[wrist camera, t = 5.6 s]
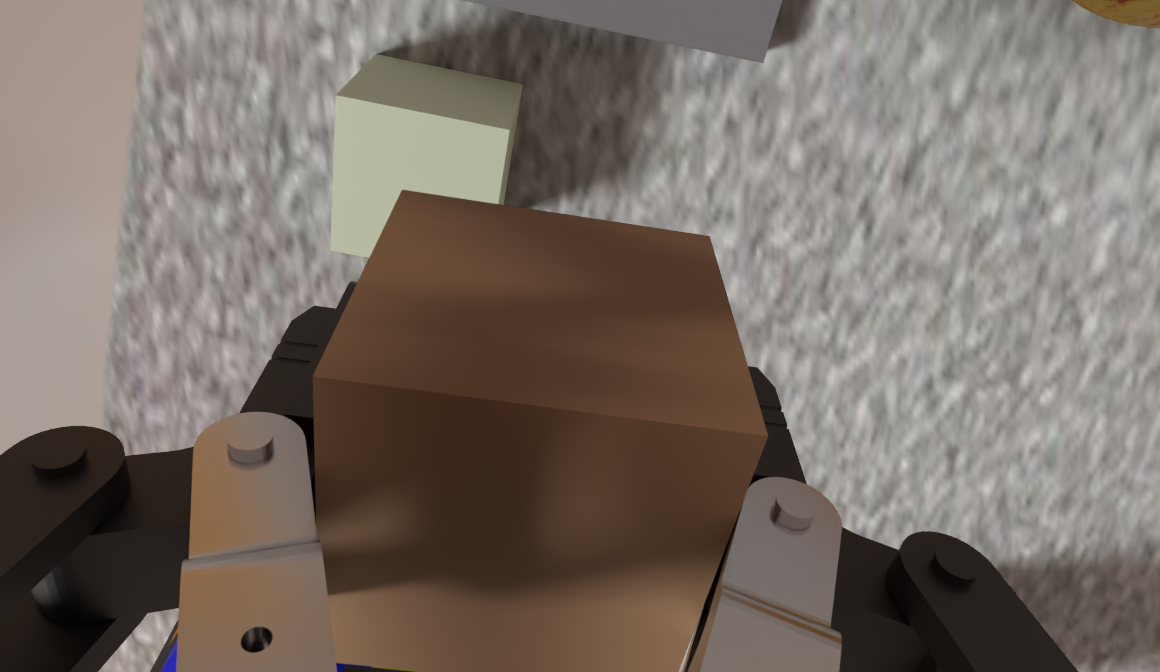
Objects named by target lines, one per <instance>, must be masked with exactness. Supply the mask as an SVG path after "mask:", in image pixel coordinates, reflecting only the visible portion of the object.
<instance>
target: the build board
mask: <svg viewBox="0 0 1160 672" xmlns="http://www.w3.org/2000/svg"><path fill="white" fill-rule="evenodd" d="M463 1H468V2H473V3H478V4H483V5H487V6H492V7H497V8H502V9H507V10H511V11H516V12H521V13H526V14H530V15H535V16H540V17H545V18H550V19H554V20H559V21H564V22H569V23H574V24H578V25H583V26H588V27H593V28H598V29H602V30H607V31H612V32H617V33H622V34H626V35H631V36H636V37H641V38H645V39H650V40H655V41H660V42H665V43H669V44H674V45H679V46H684V47H689V48H693V49H698V50H703V51H708V52H713V53H717V54H722V55H727V56H732V57H736V58H741V59H746V60H751V61H756V62H760V63H763V62H764V59H765V55H766V52H767V49H768V46H769V42H770V39H771V36H772V33H773V29H774V26H775V23H776V20H777V17H778V13H779V10H780V7H781V4H782V0H463Z"/></svg>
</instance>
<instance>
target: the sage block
mask: <svg viewBox="0 0 1160 672" xmlns="http://www.w3.org/2000/svg"><path fill="white" fill-rule="evenodd" d="M522 88H523V84H520V83H515V82H510V81H505V80H500V79H495V78H490V77H486V76H481V75H476V74H471V73H466V72H461V71H456V70H452V69H447V68H442V67H437V66H432V65H427V64H422V63H418V62H413V61H408V60H403V59H398V58H393V57H388V56H384V55H379V54H376V55H375V56H374V57H373V58H372V59H371V60H370V61H369V62H368V63H367V64H366V65H365V66H364V67H363V68H362V69H361V70H360V71H359V72H358V73H357V74H356V75H355V76H354V77H353V78H352V79H351V80H350V81H349V82H348V83H347V84H346V85H345V86H344V87H343V88H342V89H341V90H340V91H339V92H338V93H337V94H336V103H335V131H334V160H333V188H332V217H331V245H330V251H335V252H341V253H346V254H352V255H357V256H363V257H368V258H370V255H371V253H372V251H373V249H374V247H375V245H376V243H377V241H378V239H379V237H380V235H381V233H382V230H383V228H384V226H385V224H386V222H387V220H388V218H389V216H390V214H391V212H392V210H393V207H394V205H395V203H396V201H397V199H398V197H399V195H400V193H401V191H402V190H408V191H415V192H422V193H428V194H435V195H441V196H448V197H454V198H461V199H468V200H474V201H481V202H487V203H494V204H500V205H504V201H505V194H506V188H507V182H508V175H509V169H510V163H511V157H512V150H513V144H514V138H515V131H516V125H517V119H518V113H519V106H520V100H521V94H522Z"/></svg>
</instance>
